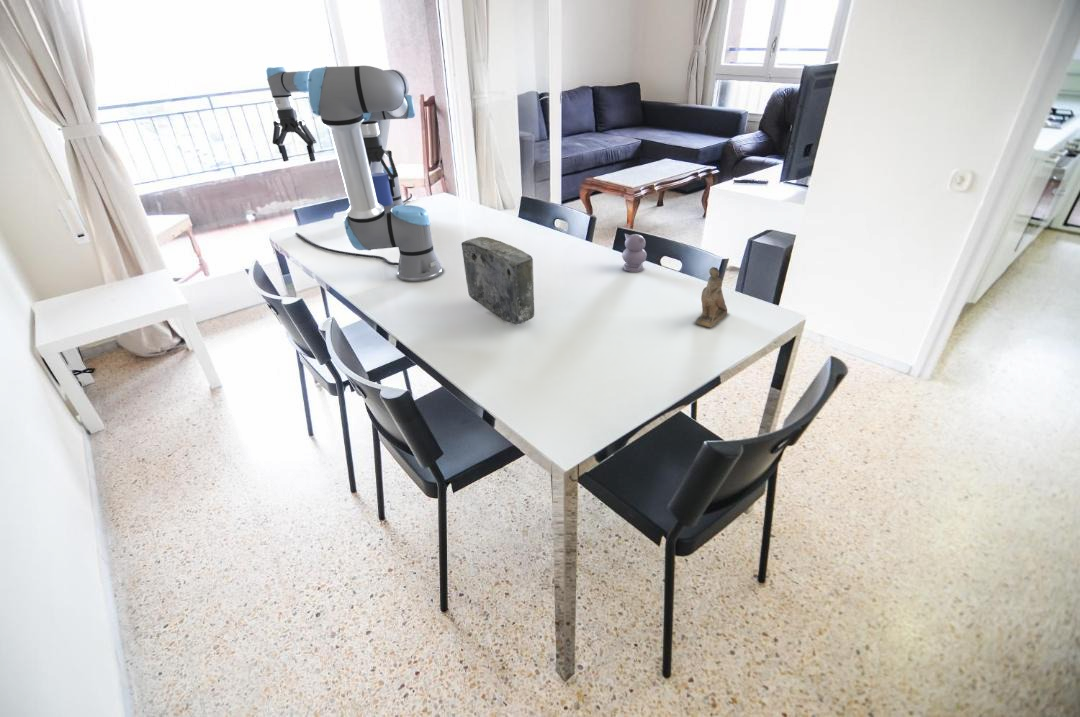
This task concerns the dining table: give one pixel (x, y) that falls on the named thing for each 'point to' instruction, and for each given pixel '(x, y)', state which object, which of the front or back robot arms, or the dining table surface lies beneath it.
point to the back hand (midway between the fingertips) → (299, 161)
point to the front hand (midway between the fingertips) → (381, 197)
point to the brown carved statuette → (712, 301)
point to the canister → (382, 188)
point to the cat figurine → (634, 253)
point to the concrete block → (500, 278)
